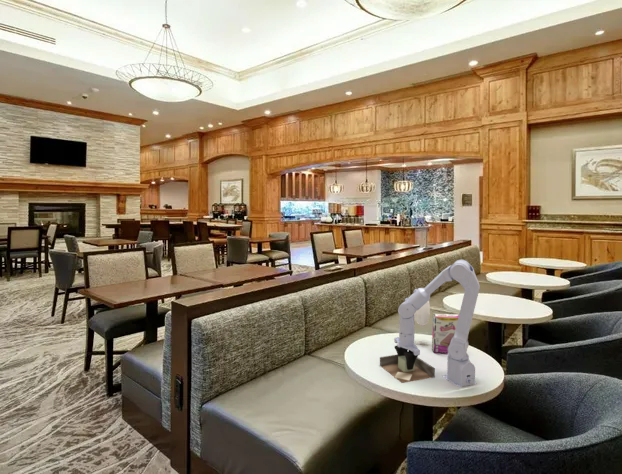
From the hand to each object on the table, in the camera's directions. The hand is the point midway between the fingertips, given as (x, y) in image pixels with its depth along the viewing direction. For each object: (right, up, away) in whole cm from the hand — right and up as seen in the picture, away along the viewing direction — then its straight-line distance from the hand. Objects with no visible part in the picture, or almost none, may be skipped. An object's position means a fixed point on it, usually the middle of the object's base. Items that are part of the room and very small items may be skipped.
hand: (406, 366), depth 148 cm
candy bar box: (+22, 0, +19) cm, 29 cm away
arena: (0, -2, -2) cm, 2 cm away
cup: (+14, +1, +28) cm, 31 cm away
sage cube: (0, -1, 0) cm, 1 cm away
